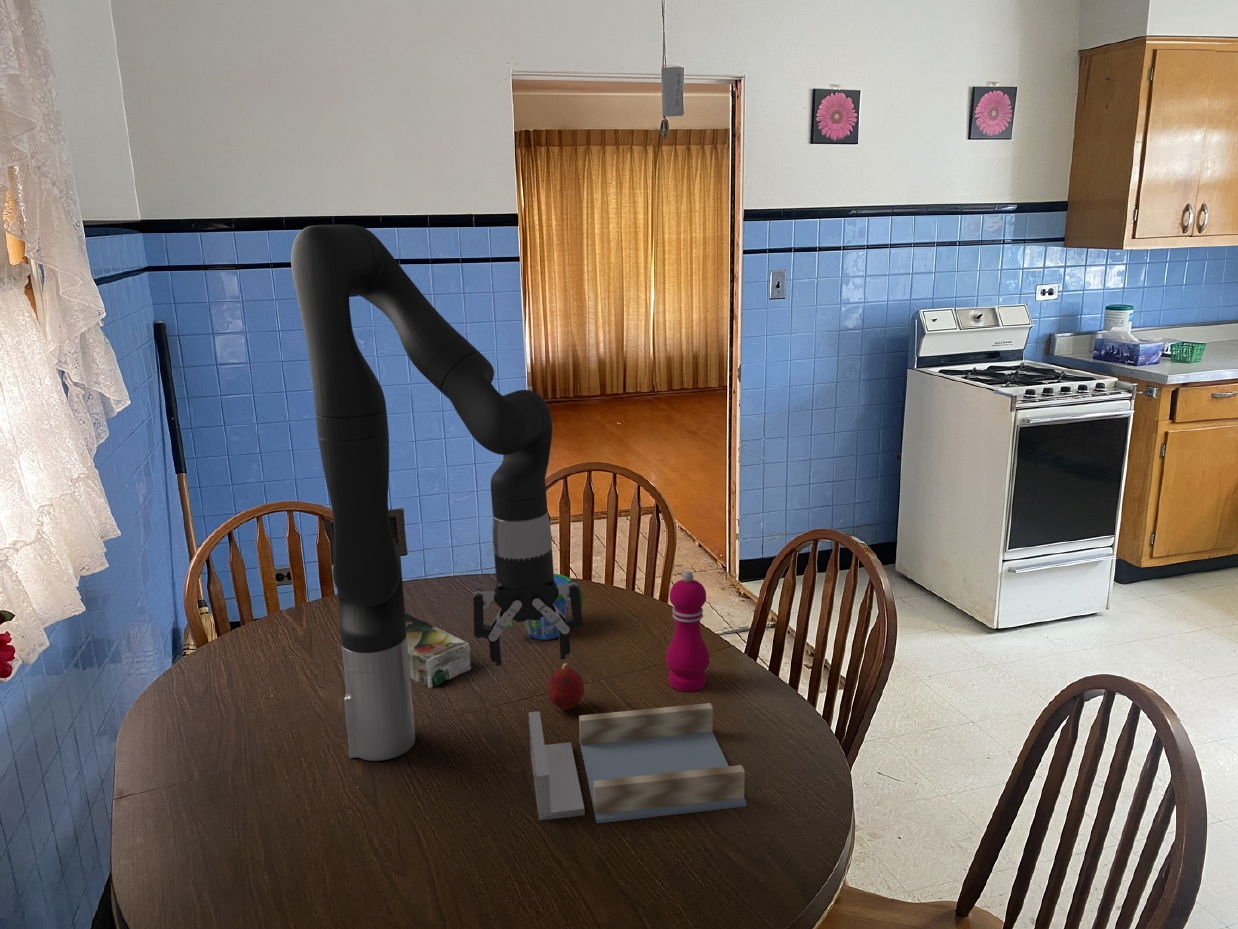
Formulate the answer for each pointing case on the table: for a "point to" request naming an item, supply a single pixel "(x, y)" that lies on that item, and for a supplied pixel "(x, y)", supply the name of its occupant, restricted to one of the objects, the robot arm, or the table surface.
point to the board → (655, 768)
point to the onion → (565, 688)
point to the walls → (666, 785)
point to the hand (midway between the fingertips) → (531, 659)
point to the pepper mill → (687, 636)
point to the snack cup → (543, 627)
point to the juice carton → (434, 653)
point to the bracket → (553, 775)
